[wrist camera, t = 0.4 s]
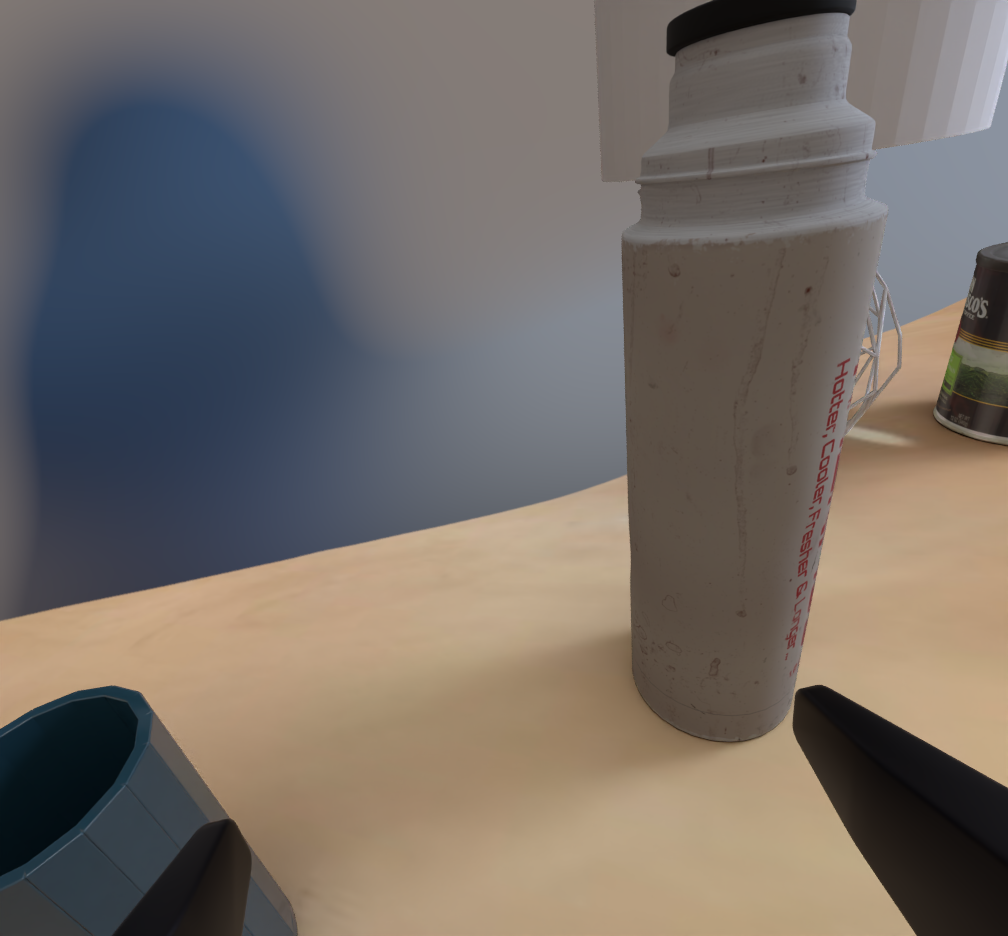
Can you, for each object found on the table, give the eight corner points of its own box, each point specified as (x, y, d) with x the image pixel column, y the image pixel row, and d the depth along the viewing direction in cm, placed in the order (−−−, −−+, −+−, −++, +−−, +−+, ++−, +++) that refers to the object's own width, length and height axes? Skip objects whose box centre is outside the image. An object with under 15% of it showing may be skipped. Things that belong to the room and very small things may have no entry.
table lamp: (578, 435, 55) (538, -95, 36) (771, 390, 58) (831, -121, 39) (694, 566, 36) (743, -440, 16) (974, 489, 39) (1299, -439, 19)
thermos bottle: (810, 654, 28) (955, -34, 15) (764, 776, 23) (919, -99, 10) (669, 600, 33) (681, 42, 20) (605, 691, 28) (562, 25, 15)
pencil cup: (271, 1073, 17) (67, 892, 11) (97, 1102, 17) (-202, 937, 11) (313, 872, 22) (187, 672, 16) (178, 894, 22) (2, 702, 16)
